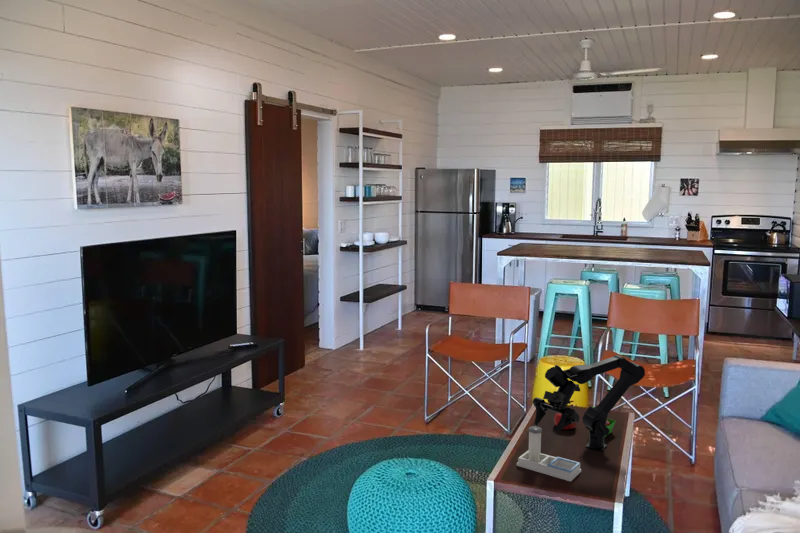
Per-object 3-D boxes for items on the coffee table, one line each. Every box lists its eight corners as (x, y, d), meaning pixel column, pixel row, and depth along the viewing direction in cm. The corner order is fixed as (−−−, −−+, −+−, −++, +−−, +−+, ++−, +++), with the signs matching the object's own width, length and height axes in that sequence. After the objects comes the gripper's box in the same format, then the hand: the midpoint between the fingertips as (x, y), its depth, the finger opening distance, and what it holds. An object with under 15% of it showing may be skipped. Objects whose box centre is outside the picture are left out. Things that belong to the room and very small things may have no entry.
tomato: (560, 433, 268) (560, 412, 267) (549, 424, 278) (549, 403, 276) (581, 430, 270) (582, 409, 269) (570, 421, 280) (570, 401, 279)
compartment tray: (528, 456, 244) (528, 448, 244) (581, 471, 232) (581, 462, 231) (516, 465, 237) (517, 456, 236) (570, 481, 224) (571, 472, 224)
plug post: (531, 457, 241) (532, 425, 239) (542, 461, 238) (544, 428, 236) (525, 462, 237) (526, 429, 235) (537, 465, 234) (538, 432, 232)
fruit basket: (604, 440, 260) (605, 414, 258) (584, 435, 266) (585, 409, 264) (615, 432, 268) (616, 406, 267) (595, 427, 274) (596, 401, 273)
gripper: (535, 377, 248) (516, 410, 243) (576, 389, 234) (556, 424, 229) (547, 392, 254) (529, 425, 249) (587, 405, 240) (569, 440, 235)
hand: (545, 428), depth 240 cm, fingers open, 9 cm apart
